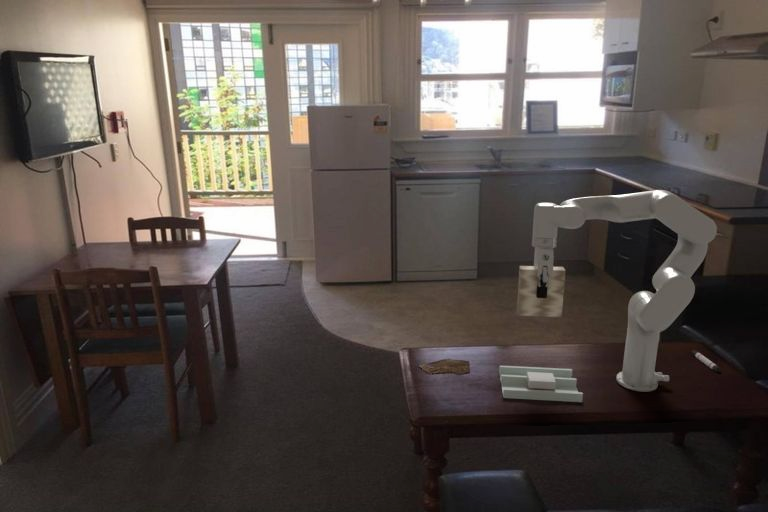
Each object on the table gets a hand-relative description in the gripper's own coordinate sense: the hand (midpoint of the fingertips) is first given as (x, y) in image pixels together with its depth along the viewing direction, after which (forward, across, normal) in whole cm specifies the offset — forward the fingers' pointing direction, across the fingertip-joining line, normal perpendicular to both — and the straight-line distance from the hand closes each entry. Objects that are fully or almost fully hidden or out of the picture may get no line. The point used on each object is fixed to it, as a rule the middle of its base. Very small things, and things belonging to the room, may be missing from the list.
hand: (540, 294), depth 182 cm
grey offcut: (+26, -13, 0) cm, 29 cm away
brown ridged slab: (+30, +3, +27) cm, 40 cm away
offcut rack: (+29, -10, 0) cm, 31 cm away
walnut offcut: (+28, -13, 0) cm, 31 cm away
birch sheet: (+7, 0, 0) cm, 7 cm away
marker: (+30, +17, -62) cm, 71 cm away
